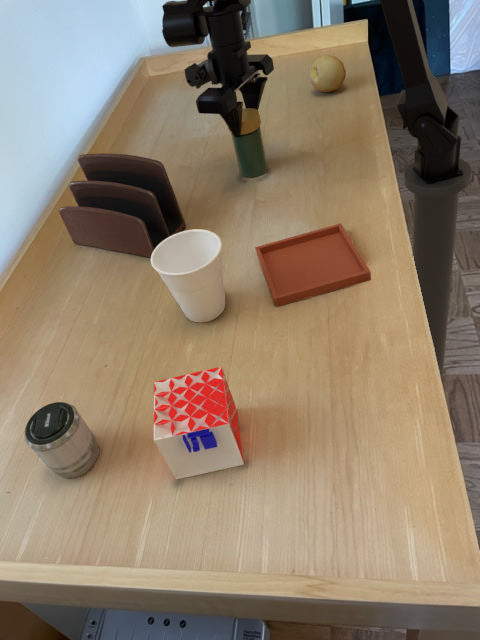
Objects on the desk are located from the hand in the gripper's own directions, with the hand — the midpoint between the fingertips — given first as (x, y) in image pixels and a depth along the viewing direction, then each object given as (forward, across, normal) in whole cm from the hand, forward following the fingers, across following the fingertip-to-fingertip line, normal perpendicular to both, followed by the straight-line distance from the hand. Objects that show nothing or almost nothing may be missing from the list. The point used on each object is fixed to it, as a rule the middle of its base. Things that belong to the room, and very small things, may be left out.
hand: (245, 128), depth 101 cm
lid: (-2, 0, 0) cm, 2 cm away
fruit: (+9, -36, +2) cm, 37 cm away
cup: (+9, +38, +12) cm, 41 cm away
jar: (+9, 0, 0) cm, 9 cm away
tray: (+9, +25, +23) cm, 35 cm away
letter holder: (+9, +25, -13) cm, 30 cm away
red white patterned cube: (+9, +58, +24) cm, 63 cm away
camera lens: (+9, +66, +10) cm, 67 cm away
